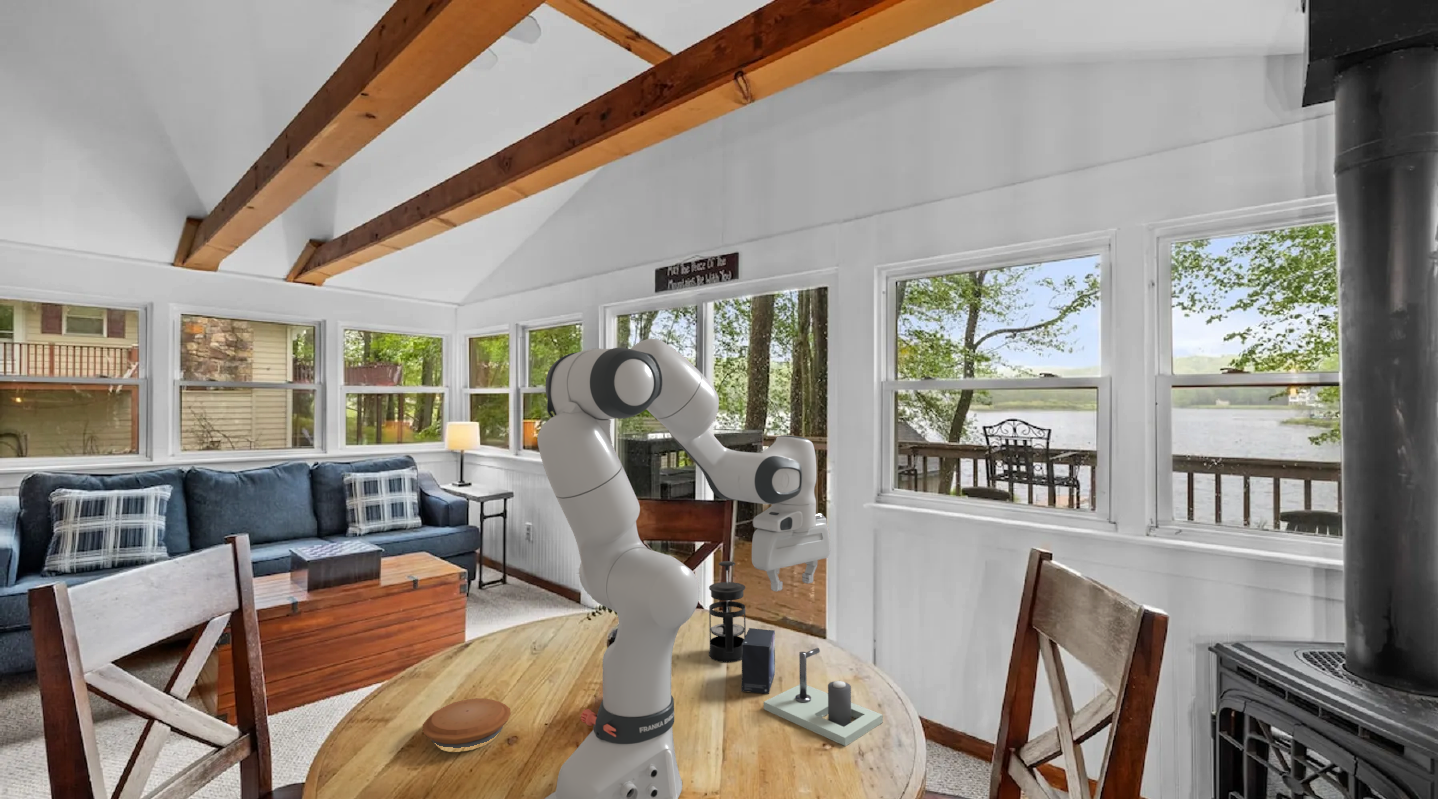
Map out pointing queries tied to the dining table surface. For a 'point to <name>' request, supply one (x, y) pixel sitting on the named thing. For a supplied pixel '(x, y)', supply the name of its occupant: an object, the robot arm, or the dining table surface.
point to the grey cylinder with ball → (839, 703)
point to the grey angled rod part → (804, 676)
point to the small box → (758, 661)
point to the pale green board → (822, 715)
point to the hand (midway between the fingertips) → (792, 586)
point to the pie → (466, 722)
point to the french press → (726, 620)
